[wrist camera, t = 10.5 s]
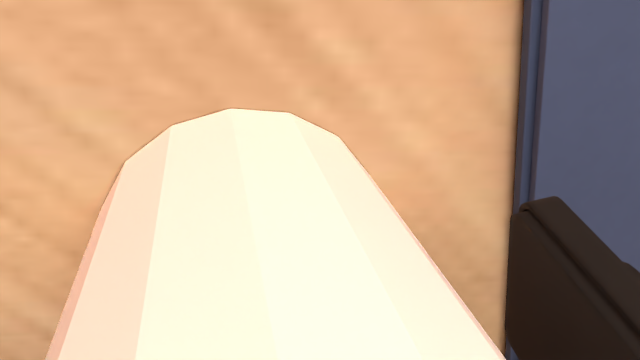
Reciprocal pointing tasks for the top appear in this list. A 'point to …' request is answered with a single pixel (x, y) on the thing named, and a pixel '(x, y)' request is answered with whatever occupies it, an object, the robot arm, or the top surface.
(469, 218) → the top surface
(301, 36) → the top surface
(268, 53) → the top surface
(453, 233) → the top surface
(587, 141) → the blue flat rectangular slab
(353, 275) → the cream tapered cup
